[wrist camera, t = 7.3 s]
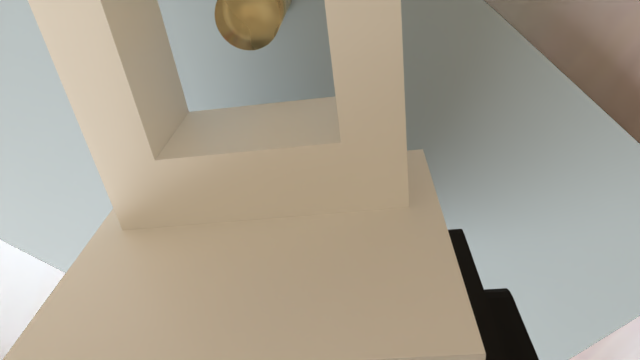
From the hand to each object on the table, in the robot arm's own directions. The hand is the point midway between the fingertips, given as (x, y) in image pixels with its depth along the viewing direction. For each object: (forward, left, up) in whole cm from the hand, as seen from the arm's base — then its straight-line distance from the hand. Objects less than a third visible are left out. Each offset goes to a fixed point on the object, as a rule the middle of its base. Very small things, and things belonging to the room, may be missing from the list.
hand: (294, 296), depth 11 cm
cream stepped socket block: (+2, -2, -1) cm, 3 cm away
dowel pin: (+4, -4, -4) cm, 7 cm away
